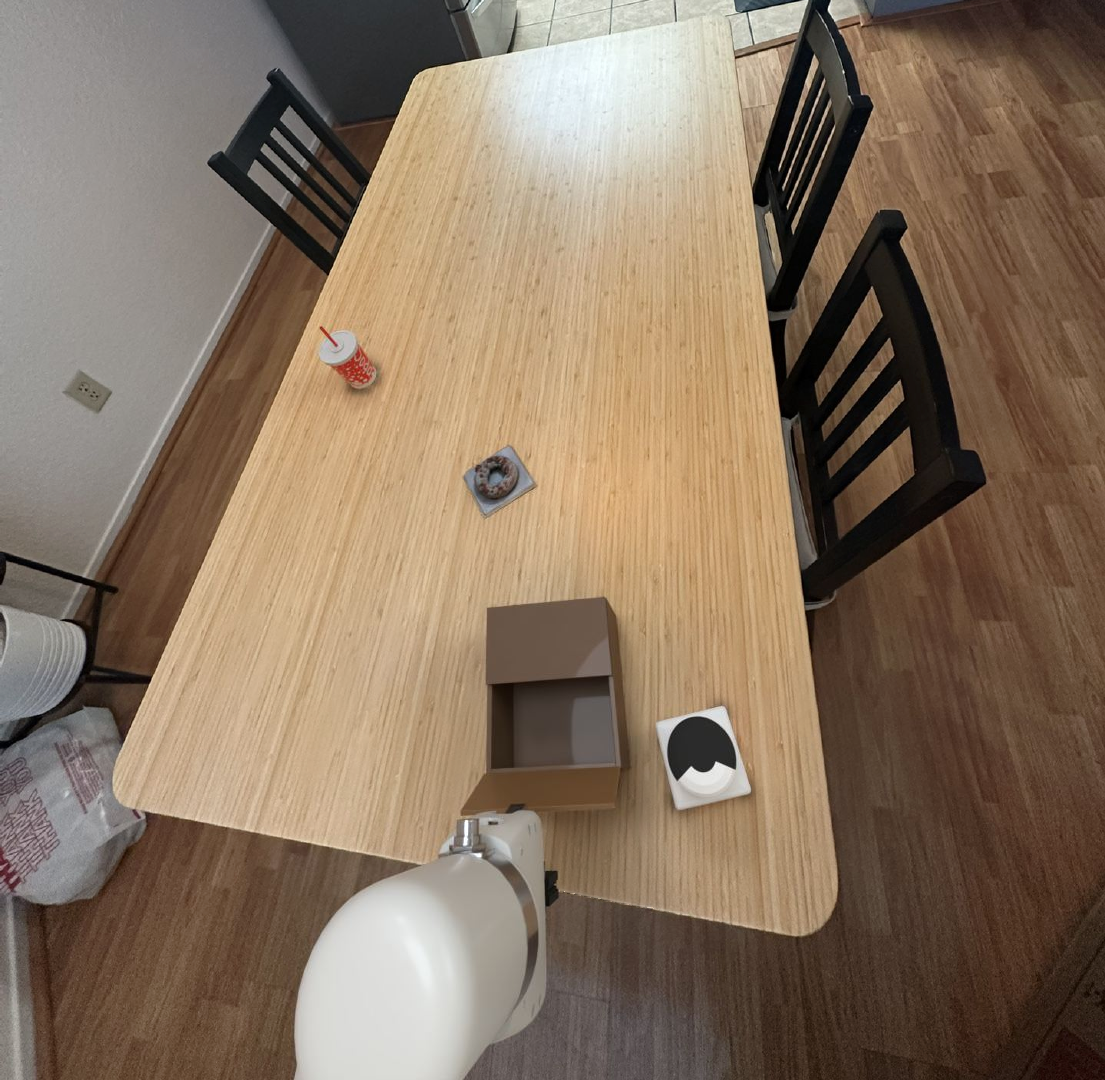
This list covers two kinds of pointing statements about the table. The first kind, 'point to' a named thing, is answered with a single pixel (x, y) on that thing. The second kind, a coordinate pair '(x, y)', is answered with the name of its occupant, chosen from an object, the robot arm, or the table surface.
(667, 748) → the medicine bottle
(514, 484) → the donut
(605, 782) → the front flap
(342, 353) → the beverage cup
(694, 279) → the table surface
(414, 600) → the table surface
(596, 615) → the carton
